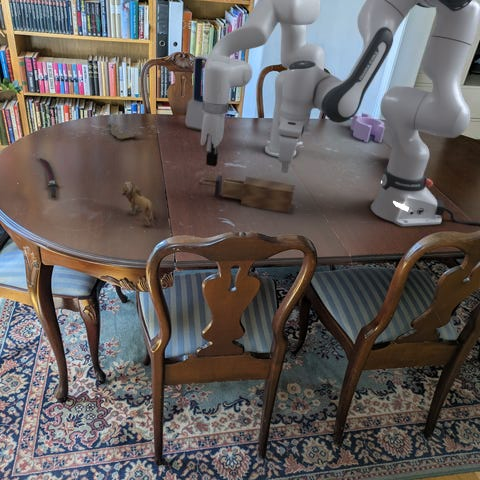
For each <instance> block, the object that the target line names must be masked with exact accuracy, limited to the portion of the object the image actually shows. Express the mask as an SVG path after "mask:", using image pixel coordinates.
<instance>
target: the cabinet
mask: <svg viewBox="0 0 480 480" xmlns="http://www.w3.org/2000/svg"><path fill="white" fill-rule="evenodd" d="M243 181H244V183H243V189H242V199H240V205H241V206H247V207H253V208H257V209H264V210H269V211H275V212H280V213H284V214H285V213H286V214H290V212H291V209H292V205H293V198H294V192H295V187H296V185H295V184H291V183H286V182H281V181H280V182H279V181H274V180H268V179H263V178H256V177H252V176H251V177H250V176H246V177H245V178H244V180H243Z"/></svg>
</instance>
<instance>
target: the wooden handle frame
mask: <svg viewBox="0 0 480 480" xmlns="http://www.w3.org/2000/svg"><path fill="white" fill-rule="evenodd" d="M244 181H245V180H240V179H237V178H236V179H235V178H231V177H225V179H224V180H223V175H218V176H217V177H216V179H210V178H206V177H205V176H202V177H201V178H200V179H199V181H198V182H197V184H198V186H202V185H203V186H209V187H215V188H214V198H219V197H220V195H221V193H222V197H225V198H230V199H235V200H241V199H242V189H243V183H244ZM222 185H223V186H222Z"/></svg>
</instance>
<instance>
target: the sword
mask: <svg viewBox="0 0 480 480" xmlns="http://www.w3.org/2000/svg"><path fill="white" fill-rule="evenodd" d="M40 161H41V162H42V163H43V165H44V166H45V169H46V173H47V176H48V185H47V188H50V198H56V197H57V189H56V188H57V187H59V185H58V184H57V183H56V180H55V176H54V172H53V169H52V167H51V164H50V163H49V161H48V160H46V159H43V158H40Z"/></svg>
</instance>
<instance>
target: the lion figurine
mask: <svg viewBox="0 0 480 480" xmlns="http://www.w3.org/2000/svg"><path fill="white" fill-rule="evenodd" d="M119 193H120V194H121V196H122V197H124V196H125V198H126V199H127V200H128V202H129V203H130V207H131V211H130V212H129V213H130V215H135V214H136V211H137V212H141V214H142V216H143V218H144V219H145V223H144V225H145V227H149V226H150V221H152V223H153V225H155V226H159V222H156V221H155V219H154V217H153V216H154V215H153V204H152V202H151V200H150V199H148V198H146V197H145V196H144V195H143V194H142V192H141V190H140V187H138V185H136V184H135V183H133V182H132V181H125V182H124V186H122V188H121V189H119ZM136 207H137V208H136ZM148 214H149V216H148Z"/></svg>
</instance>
